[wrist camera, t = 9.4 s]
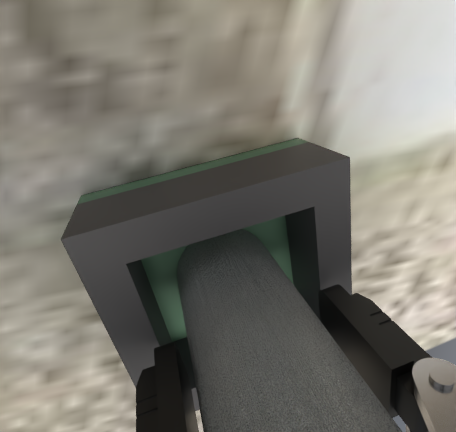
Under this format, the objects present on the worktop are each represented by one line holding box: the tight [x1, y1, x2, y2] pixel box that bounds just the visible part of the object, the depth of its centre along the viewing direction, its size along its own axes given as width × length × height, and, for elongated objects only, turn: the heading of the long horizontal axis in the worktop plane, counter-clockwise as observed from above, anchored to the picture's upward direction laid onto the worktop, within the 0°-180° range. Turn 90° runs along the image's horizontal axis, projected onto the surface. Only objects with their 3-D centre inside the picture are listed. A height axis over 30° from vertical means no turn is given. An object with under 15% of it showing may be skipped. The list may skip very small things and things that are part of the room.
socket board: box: [61, 138, 352, 411], centre depth 14 cm, size 10×10×4 cm
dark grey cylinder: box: [177, 229, 402, 432], centre depth 11 cm, size 4×4×10 cm
